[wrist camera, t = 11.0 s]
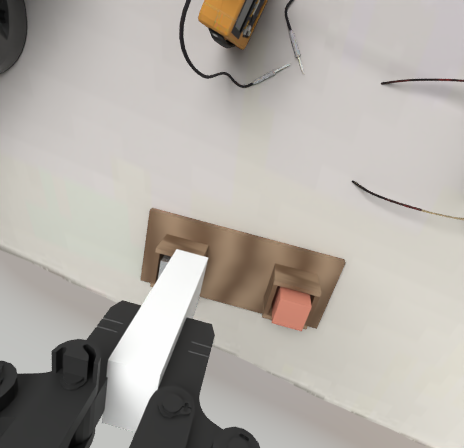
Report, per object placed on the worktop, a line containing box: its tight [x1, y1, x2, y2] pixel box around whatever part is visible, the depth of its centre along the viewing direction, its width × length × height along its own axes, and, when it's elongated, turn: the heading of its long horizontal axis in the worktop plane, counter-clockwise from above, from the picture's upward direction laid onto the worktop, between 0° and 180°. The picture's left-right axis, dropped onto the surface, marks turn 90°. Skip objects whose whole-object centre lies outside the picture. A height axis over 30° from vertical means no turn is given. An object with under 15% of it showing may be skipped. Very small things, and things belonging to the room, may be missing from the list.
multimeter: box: [179, 0, 304, 88], centre depth 27 cm, size 15×10×20 cm
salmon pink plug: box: [272, 286, 312, 331], centre depth 44 cm, size 4×4×5 cm
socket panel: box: [141, 208, 345, 329], centre depth 47 cm, size 28×12×6 cm, turn 77°
